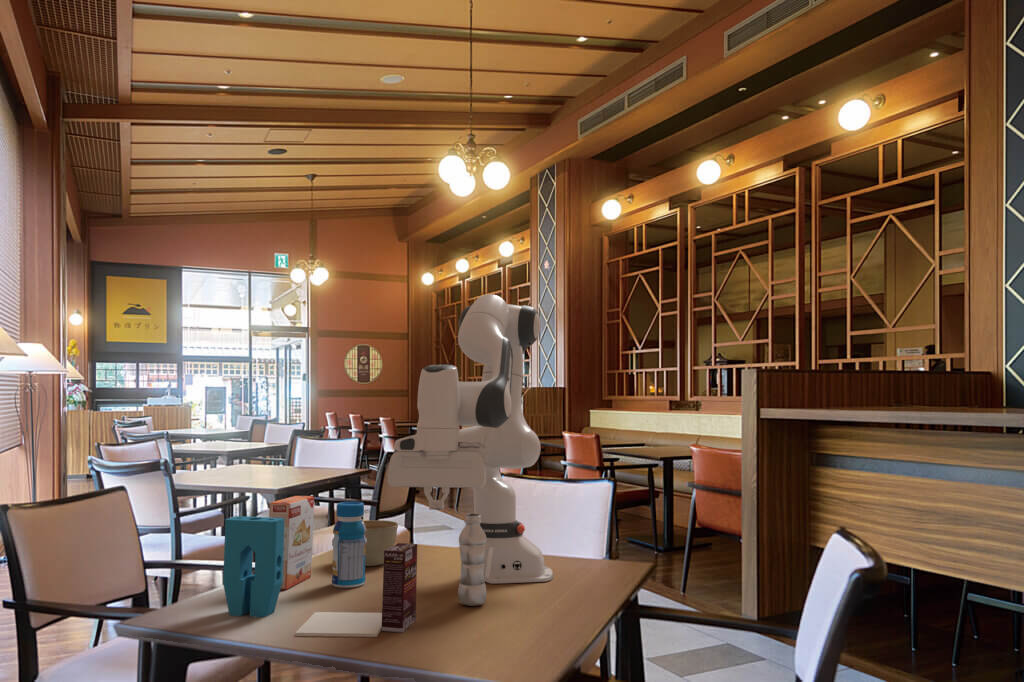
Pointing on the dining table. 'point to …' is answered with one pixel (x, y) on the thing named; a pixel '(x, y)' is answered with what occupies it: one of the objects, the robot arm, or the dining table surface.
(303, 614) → the dining table surface
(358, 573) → the beverage bottle
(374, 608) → the dining table surface
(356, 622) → the felt mat
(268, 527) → the block
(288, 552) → the cracker box
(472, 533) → the plastic bottle
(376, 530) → the planter bowl
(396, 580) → the supplement box
